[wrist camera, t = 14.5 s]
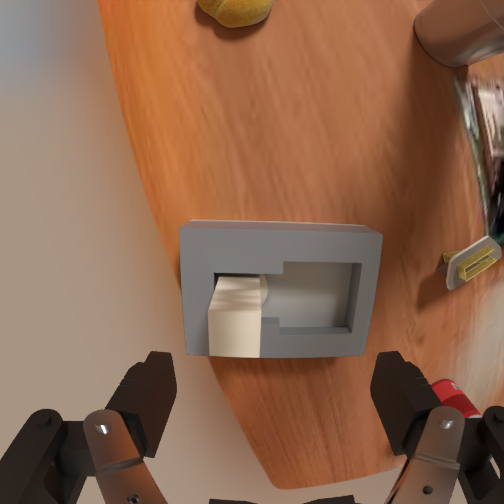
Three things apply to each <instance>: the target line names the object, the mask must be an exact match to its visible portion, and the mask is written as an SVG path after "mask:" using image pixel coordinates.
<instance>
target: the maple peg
mask: <svg viewBox="0 0 504 504" xmlns="http://www.w3.org/2000/svg"><path fill="white" fill-rule="evenodd" d="M267 294H268V283H267V277H266V274H249V273H216V288H215V291H214V294H213V297H212V300H211V303H210V307H209V310H208V330H209V353H210V356H224V357H252V358H259V356H260V333H261V306H262V304H263V303H264V302H265V300H266V297H267Z"/></svg>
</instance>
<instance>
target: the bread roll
mask: <svg viewBox="0 0 504 504" xmlns="http://www.w3.org/2000/svg"><path fill="white" fill-rule="evenodd" d="M273 1H274V0H197V2H198V4H199V6H200V7H201V9H202V10H203V11H204V12H206V13H207V14H209V15H211V16H212V17H214V18H215V19H216V20H217V21H218V22H219V23H220V24H222V25H223V26H225V27H230V28H234V27H243V26H248V25H253V24H256V23H259V22H261V21H262V20H263V19H265V18H266V17H267V16H268V14H269V12H270V10H271V8H272V5H273Z"/></svg>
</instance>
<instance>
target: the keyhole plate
mask: <svg viewBox="0 0 504 504" xmlns="http://www.w3.org/2000/svg"><path fill="white" fill-rule="evenodd" d="M179 242H180V269H181V289H182V304H183V320H184V332H185V344H186V354H187V355H202V356H210V353H209V330H208V310H209V307H210V303H211V300H212V297H213V294H214V291H215V288H216V273H249V274H266V277H267V283H268V294H267V297H266V300H265V302H264V303H263V304H262V306H261V333H260V356H259V358H316V357H341V356H358V355H364V351H365V346H366V342H367V337H368V332H369V327H370V322H371V317H372V311H373V305H374V300H375V294H376V287H377V281H378V274H379V267H380V259H381V251H382V242H383V234H382V233H380V232H378V231H376V230H374V229H372V228H370V227H368V226H366V225H355V224H334V223H309V222H281V221H243V220H190V221H188V222H187V223H185V224H184V225H183V226H181V227H180V228H179ZM219 357H224V356H219ZM245 358H252V357H245Z"/></svg>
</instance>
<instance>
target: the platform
mask: <svg viewBox="0 0 504 504" xmlns="http://www.w3.org/2000/svg"><path fill="white" fill-rule="evenodd" d="M442 254H443V258H444V263H445V264H443V265H442V266H440V267H438V268H437V269H436V270H437V271H439V272H441V273H442V274H444V275H446V276H447V277H446V284H447V288H448V289H450V290H454V289H455V288H457V287H458V286H460V285H462V284H463V283H465V282H467V281H468V280H470V279H471V278H473V277H474V276H476V275H477V274H479V273H480V272H482V271H483V270H485V269H486V268H487V267H489V266H490V265H492V264H493V263H495V262H496V261H497V260H498V259H500V258H501V247H500V246H499V245H498V244H497V243H496V242H495V241H494V240H493V239H492V238H490V237H489V236H485V237H483V238H482V239H480V240H479V241H477V242H476V243H474V244H472V245H471V246H469V247H468V248H466V249H464V250H459V251H458V250H457V251H454V252H453V251H452V252H451V251H450V252H447V253H444V252H443V253H442ZM446 256H447V257H446ZM447 261H448V262H447Z"/></svg>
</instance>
